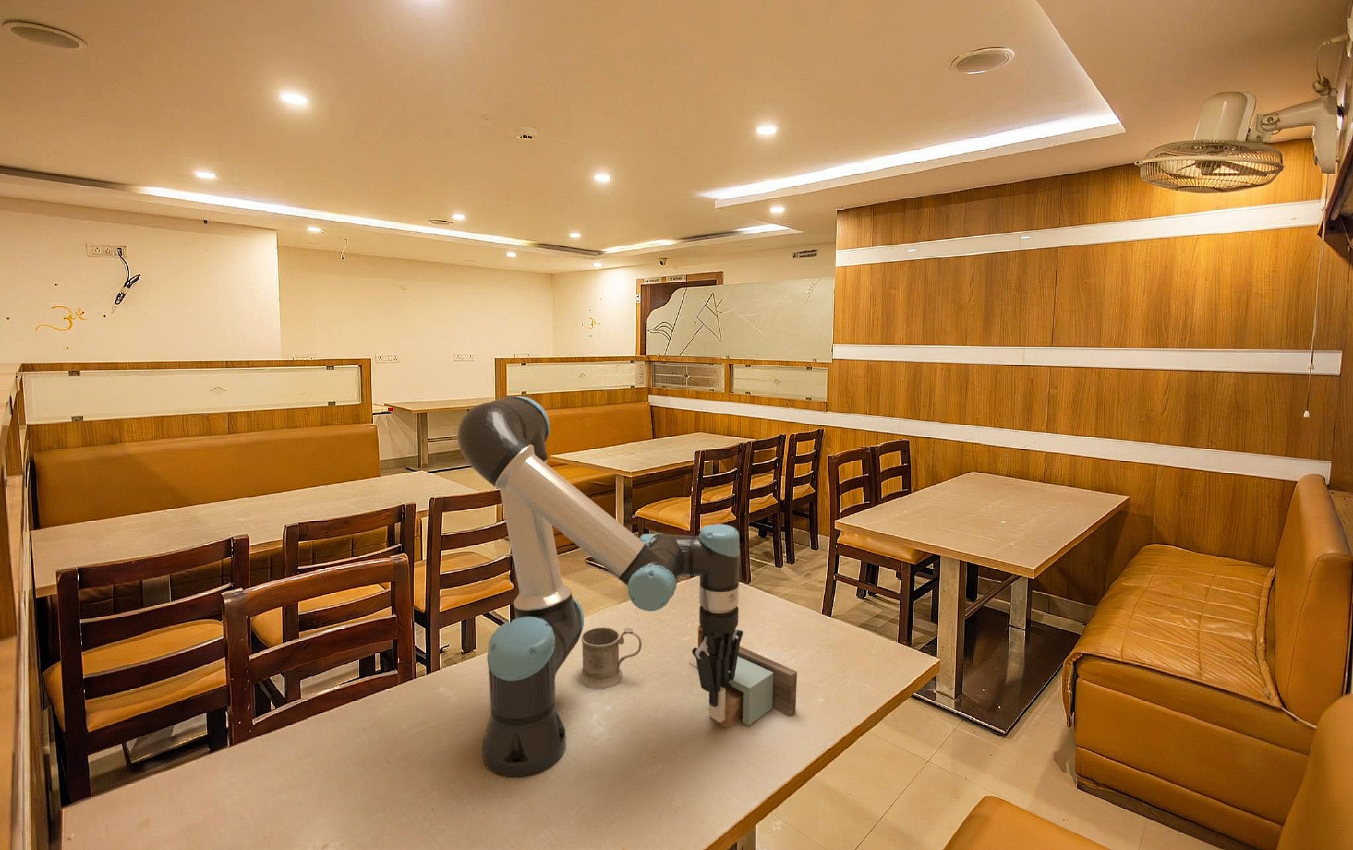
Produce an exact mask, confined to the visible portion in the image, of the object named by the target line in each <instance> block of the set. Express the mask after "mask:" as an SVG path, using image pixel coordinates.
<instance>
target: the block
mask: <svg viewBox="0 0 1353 850" xmlns="http://www.w3.org/2000/svg"><path fill="white" fill-rule="evenodd" d="M729 673H730V671H729ZM729 683H730V684H732V687H734V688H736V689H738V690H740V691H742V692H744V695H743V719H742V723H743V724H745V725H747V726H751V725H753V723H754V722H756V721H757V720H759V719H761V717H763V716H764V715H765V714H767V713H768V712H770V711H771V710H772V709H773V708H772V702H773V672H771V671H769V670H767V669H765V668H762V667H760V666H758V665H756V664H754V663H751V662H749V661H747V660H745V659H743V658H740V657H738V658H737V664H736V670H735V676H734V679H733V680H730V681H729Z"/></svg>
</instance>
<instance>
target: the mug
mask: <svg viewBox="0 0 1353 850" xmlns="http://www.w3.org/2000/svg"><path fill="white" fill-rule="evenodd" d="M626 634H627V635H628V634H629V635H630V634H631V635H632V636H634V637H636V638H637V640H638V649H637V650H636V651H635V652H633V653H631V654H627V655H625V656H622V657H619V656H620V654H619V653H620V649H619V645H624V643H625V638H624V636H625V635H626ZM581 642H582V671H581V672H580V673H579V675H578V680H579V682H580V683H581V684H582V685H583V686H584V687H587V688H589V689H595V688H596V689H595V690H597V689H598V690H600V689H604V690H605V689H608V688H611V687H614V686H616V685H618V684H619V683H620V682H622V680H623V678H624V672H623V671H622V669H621V668H620V666H621V664H622V663H623V661H625V660H626V659H628V658H631V657H635V656H636V655H638V654H639V653H640V651H641V650H642V639H641V637H640V636H639V634H638V633H636V632H634V629H633V628H630V627H626V628H624V629H623V632H621V635H620V633H619V631H618V630H616V629H614V628H611V627H595V628H591V629H587V630H586V631H584V632H583V633H582V634H581ZM619 658H620V659H619Z"/></svg>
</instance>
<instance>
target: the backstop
mask: <svg viewBox="0 0 1353 850" xmlns="http://www.w3.org/2000/svg"><path fill="white" fill-rule="evenodd" d="M738 657H740V658H743V659H745V660H747V661H749V662H751V663H754V664H756V665H758V666H760V667H762V668H765V669H767V670H769V671H771V672H773V702H772V709H774V710H776V711H778V712H780V713H782V714H783V715H786V716H788V717H792V715H794V714H795V713H796V711H797V710H796V708H797V707H796V706H797V686H798V685H797V681H798V671H797V670H794V669H792V668H790V667H788V666H786V665H784V664H780V663H778V662H777V661H774V660H772V659H770V658H767V657H766V656H763V655H761V654H758V653H756V652H753V651H751V650H749V649H747V648H745V647H742V646H739V652H738Z"/></svg>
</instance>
